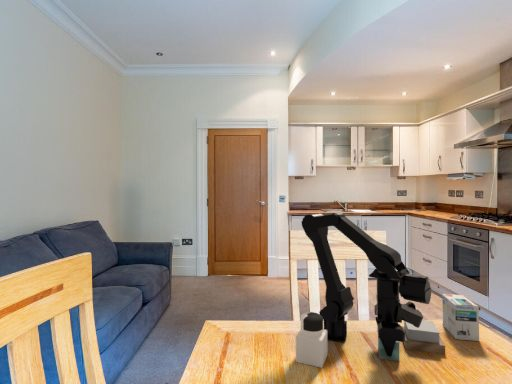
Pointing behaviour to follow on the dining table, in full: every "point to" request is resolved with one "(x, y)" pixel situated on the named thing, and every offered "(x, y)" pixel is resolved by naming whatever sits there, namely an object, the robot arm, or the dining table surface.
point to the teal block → (383, 354)
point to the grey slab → (422, 332)
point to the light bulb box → (460, 317)
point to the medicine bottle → (311, 340)
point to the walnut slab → (424, 345)
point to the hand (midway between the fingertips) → (388, 351)
